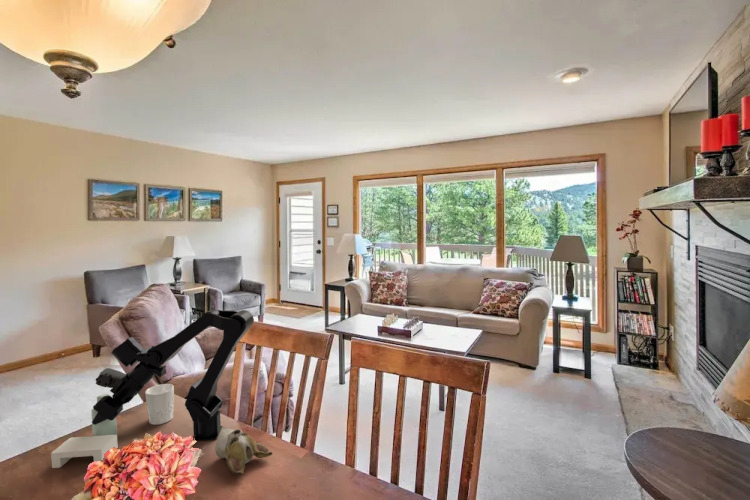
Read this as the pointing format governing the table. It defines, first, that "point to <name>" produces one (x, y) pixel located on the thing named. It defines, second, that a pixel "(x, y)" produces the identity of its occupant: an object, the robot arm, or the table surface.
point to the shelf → (83, 448)
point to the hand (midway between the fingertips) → (98, 418)
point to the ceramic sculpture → (238, 449)
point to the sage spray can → (104, 423)
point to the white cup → (160, 403)
